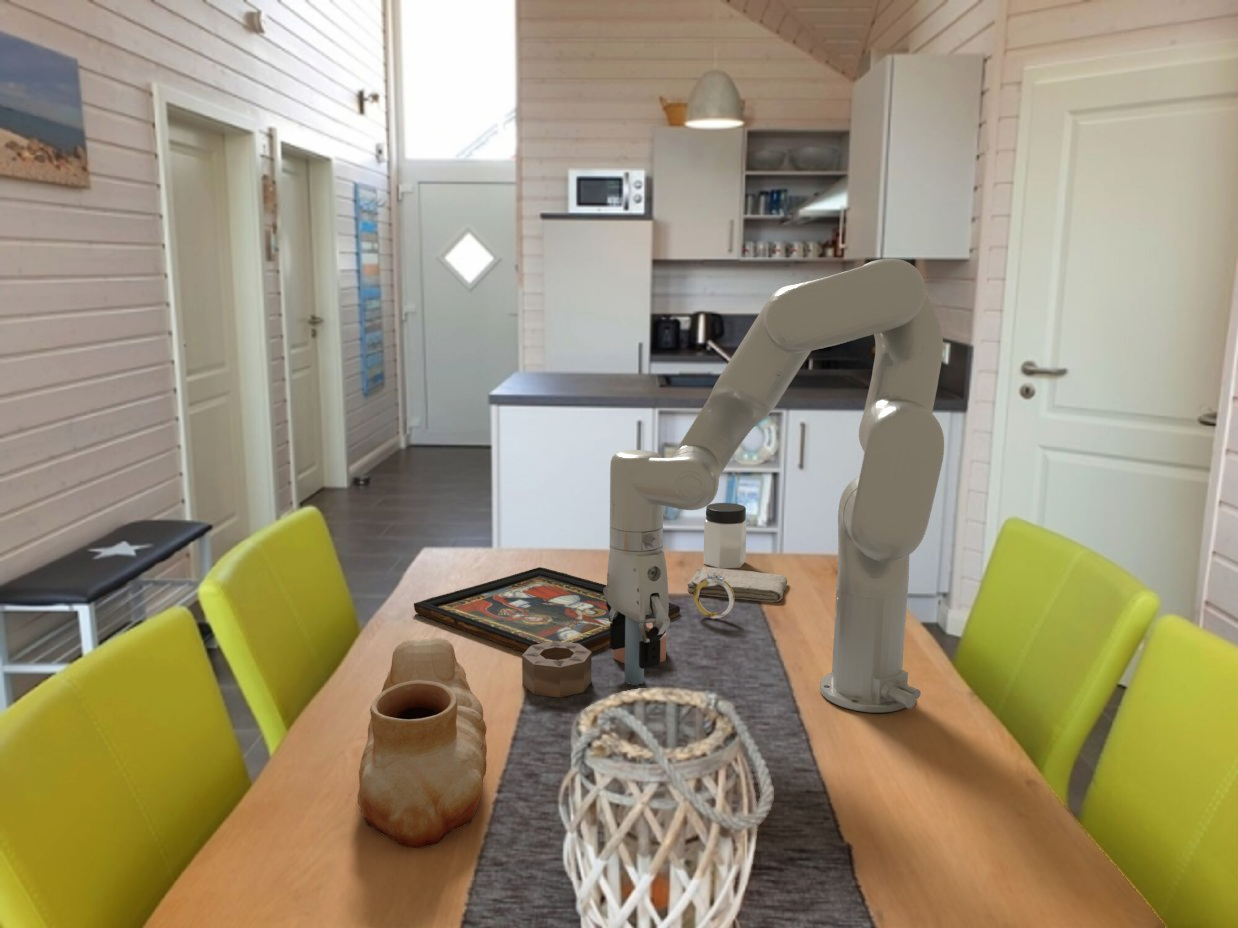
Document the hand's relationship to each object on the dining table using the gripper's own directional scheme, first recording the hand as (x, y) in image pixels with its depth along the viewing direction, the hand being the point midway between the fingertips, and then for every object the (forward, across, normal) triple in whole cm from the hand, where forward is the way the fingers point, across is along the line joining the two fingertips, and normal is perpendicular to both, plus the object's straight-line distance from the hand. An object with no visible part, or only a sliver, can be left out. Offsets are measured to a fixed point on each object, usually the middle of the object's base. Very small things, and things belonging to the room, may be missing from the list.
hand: (634, 656), depth 138 cm
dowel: (+4, 0, 0) cm, 4 cm away
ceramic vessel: (+4, -13, +36) cm, 39 cm away
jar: (+4, +42, -48) cm, 64 cm away
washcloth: (+5, +27, -40) cm, 49 cm away
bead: (+4, +5, +10) cm, 12 cm away
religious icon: (+5, +32, -2) cm, 32 cm away
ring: (+4, +16, -26) cm, 31 cm away
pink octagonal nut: (+4, +8, -6) cm, 11 cm away
